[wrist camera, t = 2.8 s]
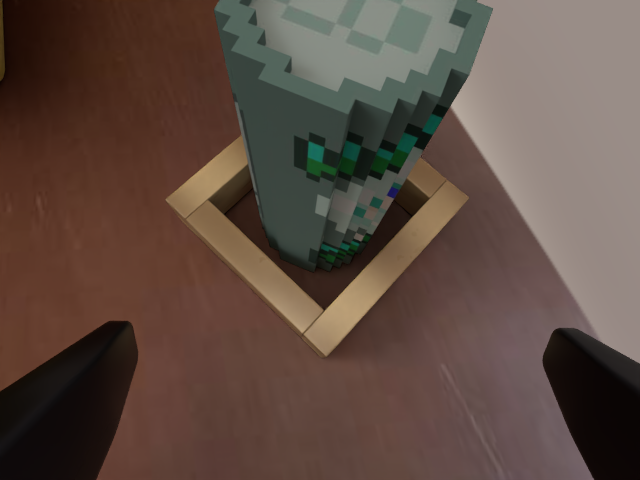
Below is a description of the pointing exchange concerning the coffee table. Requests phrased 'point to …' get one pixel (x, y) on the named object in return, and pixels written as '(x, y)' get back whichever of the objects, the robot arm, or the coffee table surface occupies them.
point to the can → (340, 108)
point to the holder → (272, 282)
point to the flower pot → (1, 44)
